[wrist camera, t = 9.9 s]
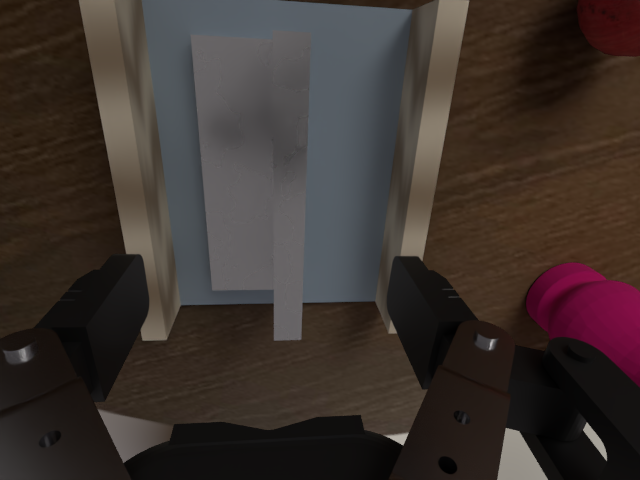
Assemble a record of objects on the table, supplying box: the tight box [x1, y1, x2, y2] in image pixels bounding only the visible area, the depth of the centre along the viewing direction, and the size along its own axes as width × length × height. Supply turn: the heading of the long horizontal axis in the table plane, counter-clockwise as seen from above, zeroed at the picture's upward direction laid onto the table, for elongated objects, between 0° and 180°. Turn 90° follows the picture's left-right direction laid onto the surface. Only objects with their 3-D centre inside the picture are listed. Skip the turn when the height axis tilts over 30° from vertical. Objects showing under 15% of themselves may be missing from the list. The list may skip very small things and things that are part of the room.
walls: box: [79, 0, 469, 341], centre depth 23 cm, size 20×18×4 cm
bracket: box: [191, 30, 311, 341], centre depth 22 cm, size 16×6×7 cm, turn 177°
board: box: [142, 0, 412, 305], centre depth 25 cm, size 20×20×1 cm
